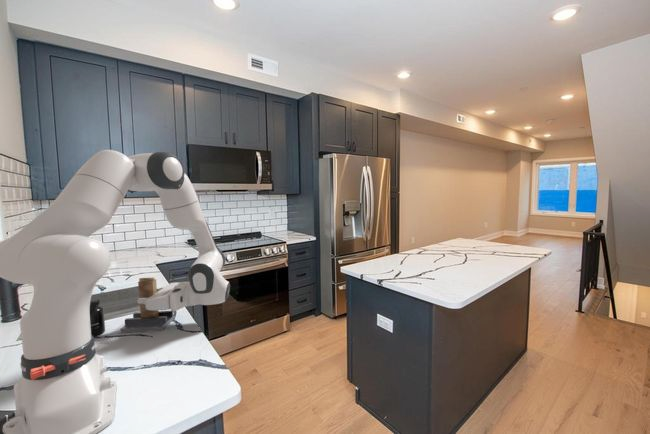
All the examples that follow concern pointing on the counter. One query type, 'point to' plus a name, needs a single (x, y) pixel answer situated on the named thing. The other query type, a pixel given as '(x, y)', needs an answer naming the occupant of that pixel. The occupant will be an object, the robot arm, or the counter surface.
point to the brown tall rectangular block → (147, 295)
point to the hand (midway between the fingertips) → (145, 295)
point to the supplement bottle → (96, 318)
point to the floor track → (147, 322)
